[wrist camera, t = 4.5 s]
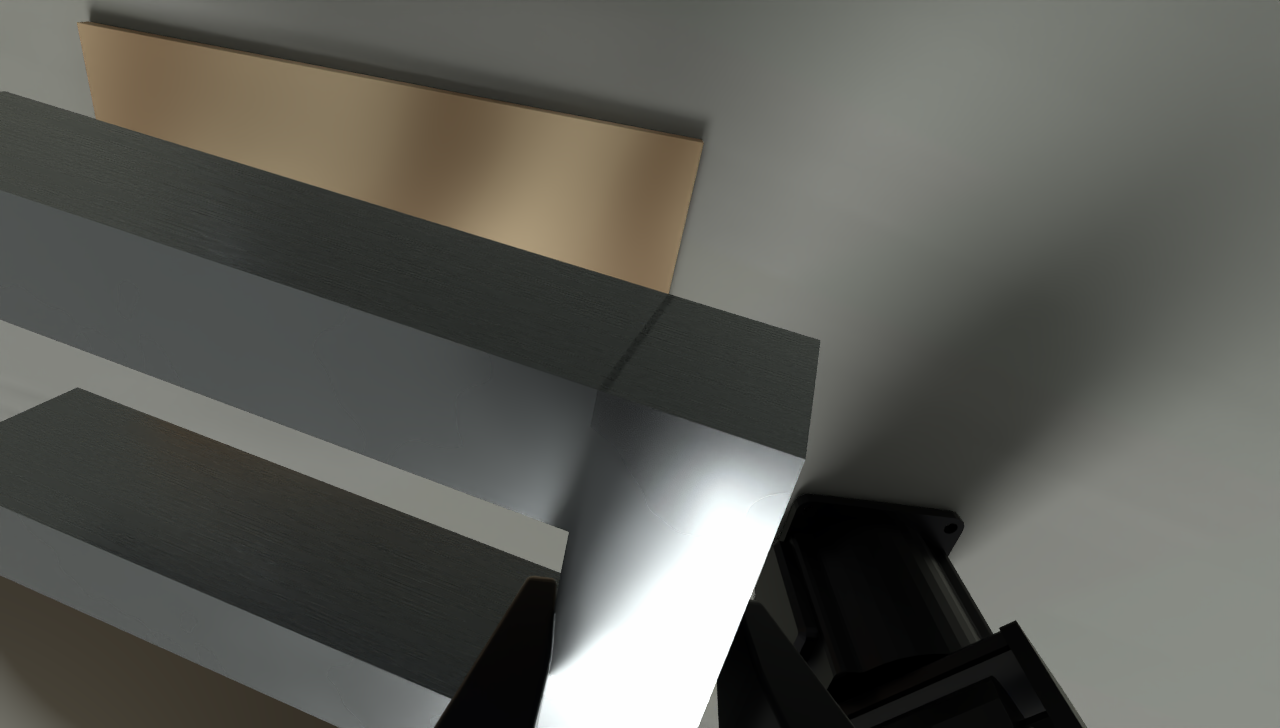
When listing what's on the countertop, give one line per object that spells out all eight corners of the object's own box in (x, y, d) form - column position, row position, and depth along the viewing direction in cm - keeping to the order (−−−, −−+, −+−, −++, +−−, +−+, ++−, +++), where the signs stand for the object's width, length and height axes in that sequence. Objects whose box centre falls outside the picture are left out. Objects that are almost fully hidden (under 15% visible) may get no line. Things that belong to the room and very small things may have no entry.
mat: (701, 139, 18) (703, 143, 18) (638, 414, 22) (638, 421, 22) (88, 21, 16) (76, 22, 16) (150, 349, 20) (143, 356, 20)
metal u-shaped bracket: (820, 340, 9) (805, 459, 7) (685, 699, 13) (643, 864, 10) (4, 91, 11) (-245, 108, 9) (95, 461, 15) (-60, 548, 13)
